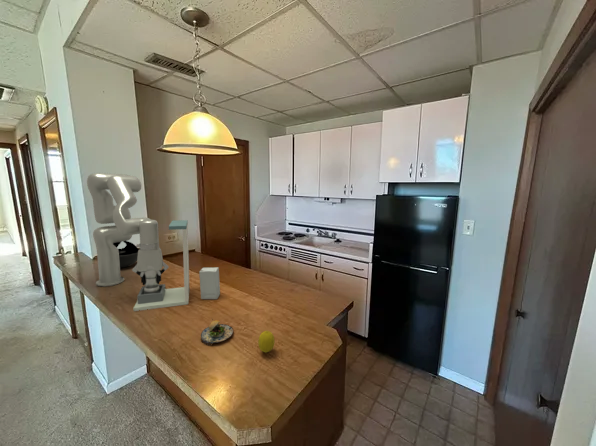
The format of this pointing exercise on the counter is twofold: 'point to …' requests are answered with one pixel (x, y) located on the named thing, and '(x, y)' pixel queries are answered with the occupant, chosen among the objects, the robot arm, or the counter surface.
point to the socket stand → (165, 295)
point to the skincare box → (209, 283)
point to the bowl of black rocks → (127, 254)
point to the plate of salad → (216, 333)
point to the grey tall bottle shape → (151, 281)
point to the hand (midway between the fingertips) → (151, 283)
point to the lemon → (266, 341)
